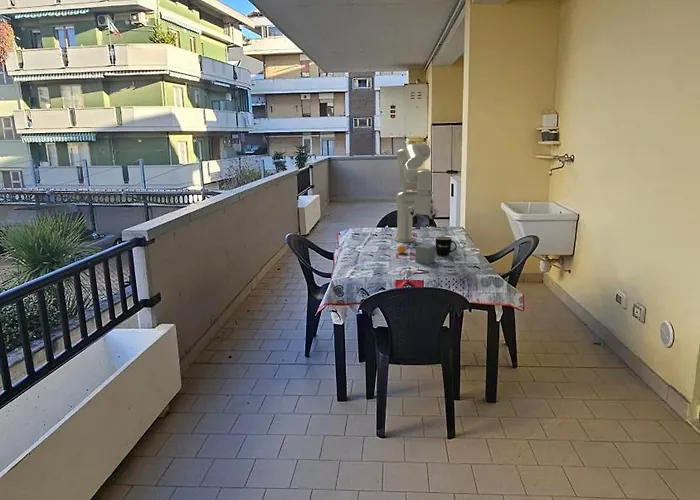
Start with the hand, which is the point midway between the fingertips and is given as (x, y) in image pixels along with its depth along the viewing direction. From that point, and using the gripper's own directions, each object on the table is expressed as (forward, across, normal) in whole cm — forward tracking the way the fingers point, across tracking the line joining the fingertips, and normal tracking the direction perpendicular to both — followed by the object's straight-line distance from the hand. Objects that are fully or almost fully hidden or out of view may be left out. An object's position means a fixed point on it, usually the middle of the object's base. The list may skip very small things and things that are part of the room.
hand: (423, 224), depth 272 cm
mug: (+20, -5, -19) cm, 28 cm away
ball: (+17, +18, -8) cm, 26 cm away
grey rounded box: (+20, -2, 0) cm, 20 cm away
